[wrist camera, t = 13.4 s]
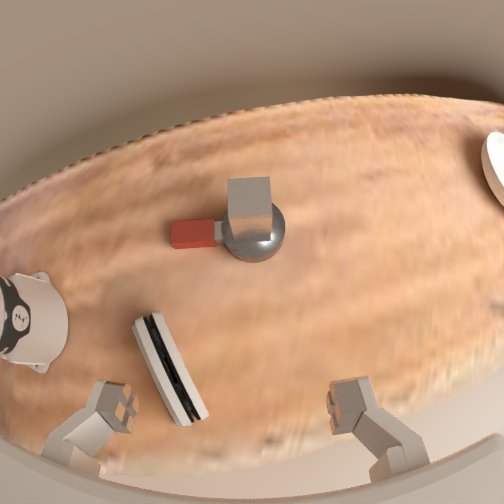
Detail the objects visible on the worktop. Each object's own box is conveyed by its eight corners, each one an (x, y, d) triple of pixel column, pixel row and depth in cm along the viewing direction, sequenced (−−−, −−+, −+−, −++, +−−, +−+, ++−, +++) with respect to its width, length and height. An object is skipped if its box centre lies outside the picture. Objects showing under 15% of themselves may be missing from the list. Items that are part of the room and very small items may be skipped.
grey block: (235, 243, 40) (228, 217, 31) (234, 211, 41) (227, 179, 32) (270, 241, 39) (272, 214, 31) (268, 209, 41) (269, 176, 32)
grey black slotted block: (131, 326, 40) (121, 312, 31) (159, 315, 42) (156, 299, 33) (177, 426, 35) (179, 440, 26) (206, 414, 37) (216, 425, 28)
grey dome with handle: (175, 266, 42) (158, 252, 35) (177, 211, 45) (162, 189, 37) (286, 260, 42) (290, 245, 34) (281, 204, 44) (284, 180, 37)
